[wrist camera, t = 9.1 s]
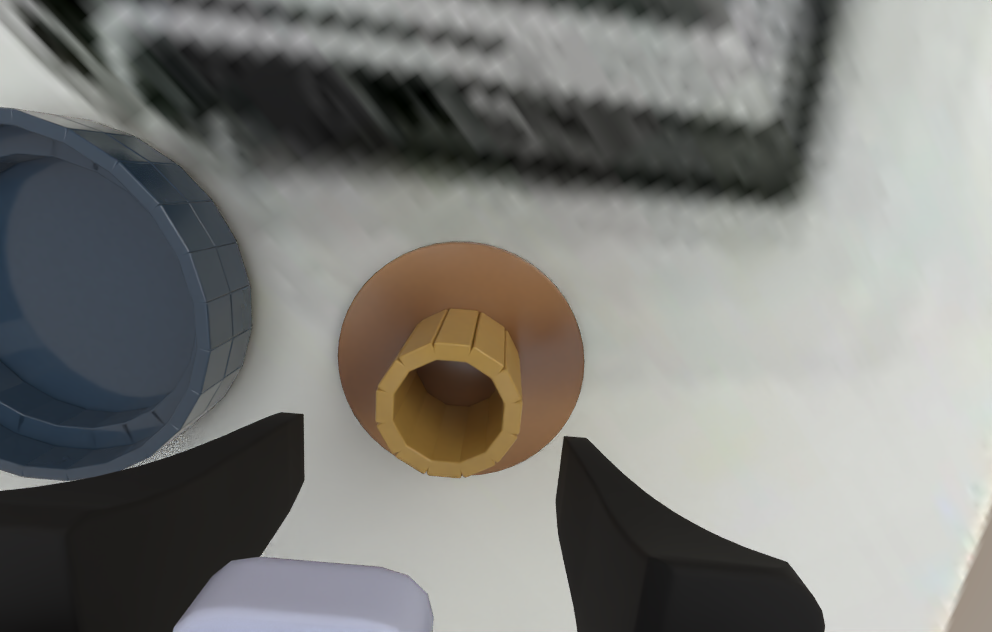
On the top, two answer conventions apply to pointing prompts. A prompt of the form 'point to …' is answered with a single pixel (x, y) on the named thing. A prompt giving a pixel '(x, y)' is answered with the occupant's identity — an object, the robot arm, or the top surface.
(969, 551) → the top surface
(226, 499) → the robot arm
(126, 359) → the bowl
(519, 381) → the brass ring
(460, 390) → the coaster
